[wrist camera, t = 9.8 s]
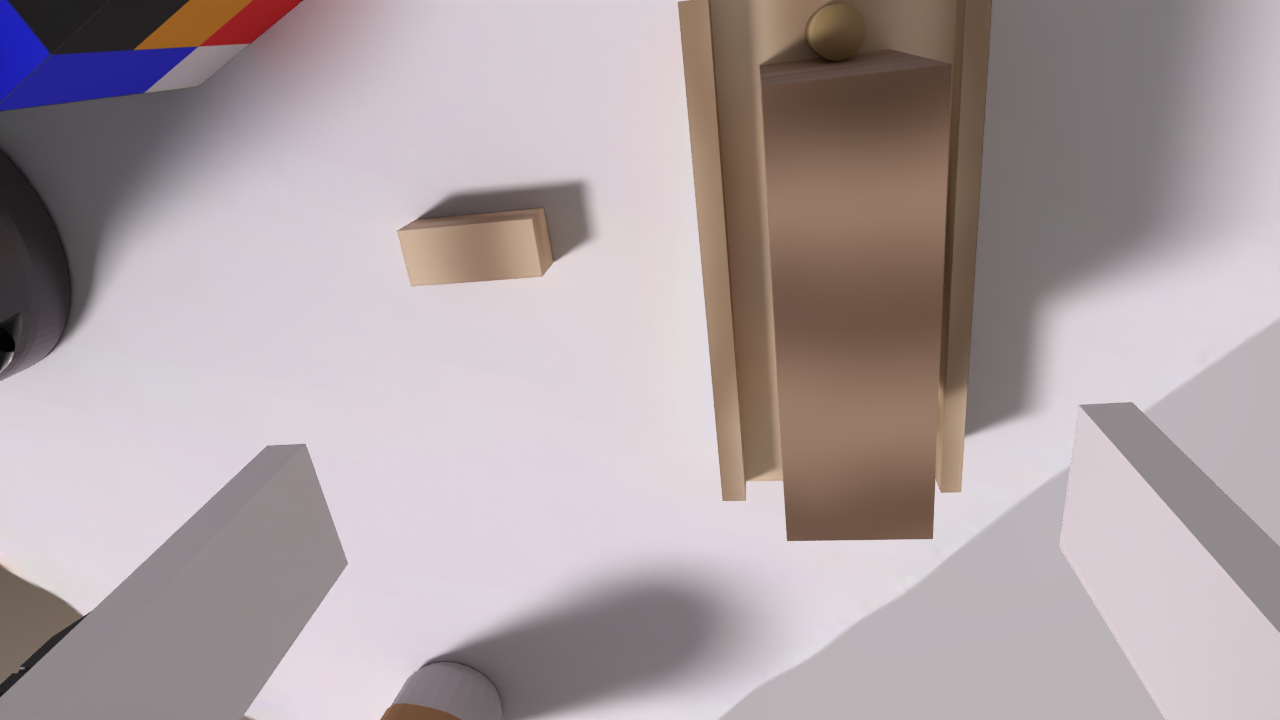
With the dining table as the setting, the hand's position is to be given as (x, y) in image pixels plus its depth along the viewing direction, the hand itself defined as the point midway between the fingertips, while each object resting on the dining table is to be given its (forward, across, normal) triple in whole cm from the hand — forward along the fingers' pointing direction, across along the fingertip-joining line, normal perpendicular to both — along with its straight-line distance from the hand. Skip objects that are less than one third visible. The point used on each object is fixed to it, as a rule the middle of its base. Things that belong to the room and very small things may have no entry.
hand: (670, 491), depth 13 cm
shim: (+21, -10, -1) cm, 23 cm away
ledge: (+21, +5, -2) cm, 21 cm away
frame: (+18, +5, -2) cm, 19 cm away
